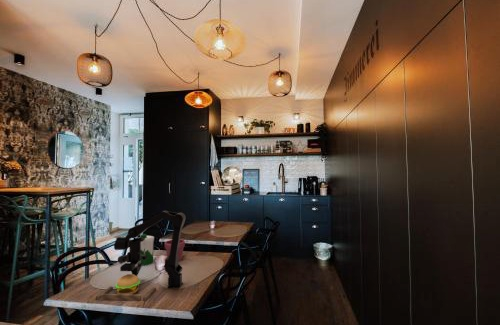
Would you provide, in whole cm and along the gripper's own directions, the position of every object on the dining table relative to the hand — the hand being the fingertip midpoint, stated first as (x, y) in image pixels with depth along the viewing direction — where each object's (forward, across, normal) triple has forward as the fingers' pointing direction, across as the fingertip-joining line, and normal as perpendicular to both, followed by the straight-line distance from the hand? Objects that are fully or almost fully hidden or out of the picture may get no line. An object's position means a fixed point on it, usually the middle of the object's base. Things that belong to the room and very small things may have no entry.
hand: (135, 278), depth 139 cm
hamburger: (+5, +6, 0) cm, 8 cm away
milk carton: (+5, -36, -12) cm, 38 cm away
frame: (+4, +9, +1) cm, 10 cm away
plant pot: (+5, -45, +5) cm, 46 cm away
